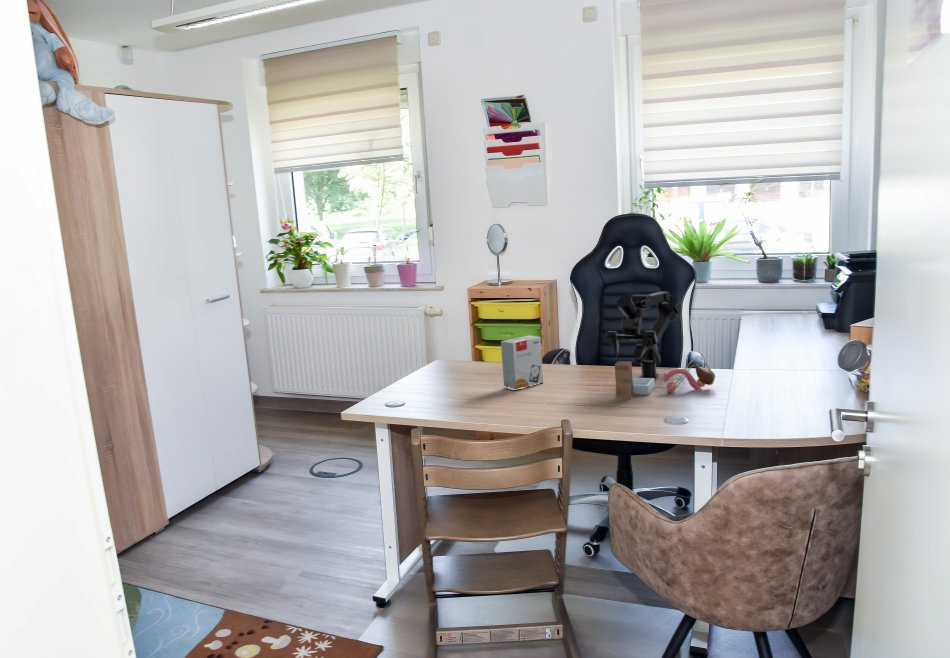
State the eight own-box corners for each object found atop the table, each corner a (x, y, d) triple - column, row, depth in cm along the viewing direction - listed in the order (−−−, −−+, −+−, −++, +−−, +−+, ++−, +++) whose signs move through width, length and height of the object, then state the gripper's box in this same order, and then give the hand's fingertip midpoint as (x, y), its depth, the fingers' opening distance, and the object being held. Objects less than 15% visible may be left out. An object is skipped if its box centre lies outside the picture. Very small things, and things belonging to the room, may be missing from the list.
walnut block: (620, 395, 258) (618, 361, 256) (633, 395, 256) (631, 361, 254) (616, 398, 254) (614, 364, 252) (630, 399, 251) (628, 364, 249)
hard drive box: (515, 391, 277) (511, 343, 273) (503, 388, 283) (499, 341, 280) (544, 383, 286) (540, 336, 282) (532, 380, 292) (528, 334, 288)
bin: (627, 386, 269) (626, 377, 268) (654, 387, 264) (654, 378, 264) (620, 393, 260) (619, 384, 259) (648, 394, 255) (648, 385, 254)
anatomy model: (655, 378, 263) (684, 344, 259) (687, 403, 263) (717, 369, 258) (658, 386, 252) (688, 351, 248) (691, 411, 252) (722, 377, 248)
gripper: (605, 310, 266) (599, 344, 258) (654, 309, 257) (649, 344, 249) (611, 327, 274) (606, 360, 266) (659, 326, 266) (654, 361, 258)
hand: (628, 356), depth 260 cm, fingers open, 9 cm apart
